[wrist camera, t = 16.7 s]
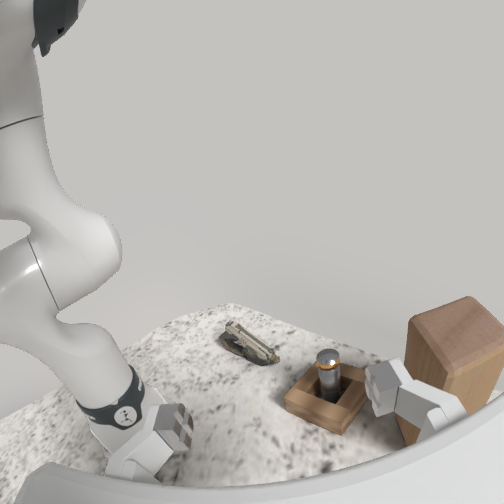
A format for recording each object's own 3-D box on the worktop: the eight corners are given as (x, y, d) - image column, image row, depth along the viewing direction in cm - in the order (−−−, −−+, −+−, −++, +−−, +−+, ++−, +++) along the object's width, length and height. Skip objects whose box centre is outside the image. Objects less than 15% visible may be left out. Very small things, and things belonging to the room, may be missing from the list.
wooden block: (392, 414, 34) (405, 314, 27) (445, 393, 33) (471, 290, 26) (410, 464, 24) (447, 374, 18) (469, 436, 23) (518, 335, 17)
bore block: (286, 411, 41) (282, 397, 40) (322, 371, 48) (320, 356, 47) (341, 435, 34) (341, 422, 32) (373, 387, 40) (374, 372, 39)
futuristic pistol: (268, 383, 55) (276, 360, 49) (217, 343, 62) (218, 316, 56) (275, 375, 57) (284, 352, 51) (225, 337, 63) (227, 310, 57)
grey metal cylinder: (320, 407, 40) (314, 364, 36) (324, 393, 43) (318, 348, 39) (340, 408, 39) (337, 364, 35) (342, 393, 41) (340, 348, 38)
